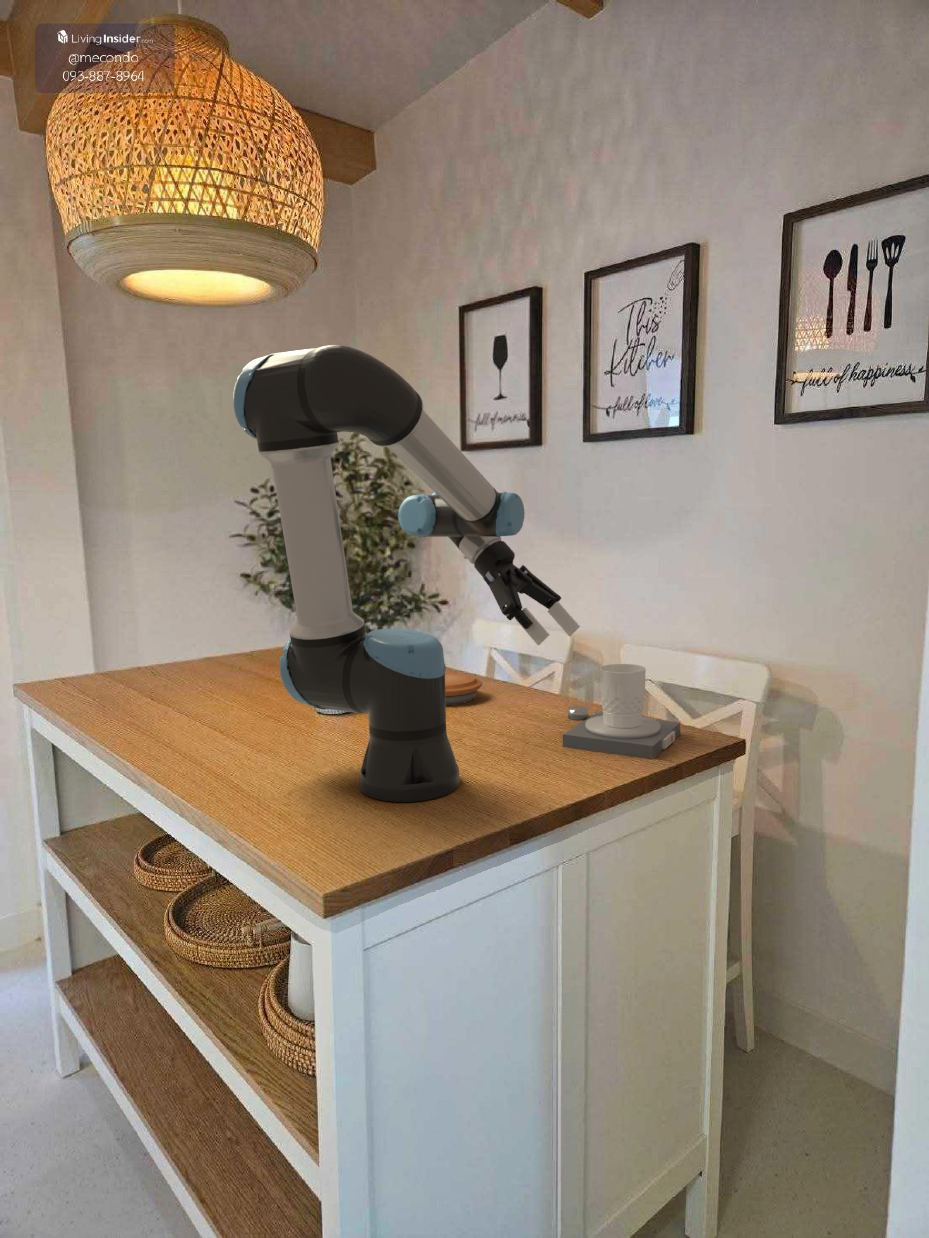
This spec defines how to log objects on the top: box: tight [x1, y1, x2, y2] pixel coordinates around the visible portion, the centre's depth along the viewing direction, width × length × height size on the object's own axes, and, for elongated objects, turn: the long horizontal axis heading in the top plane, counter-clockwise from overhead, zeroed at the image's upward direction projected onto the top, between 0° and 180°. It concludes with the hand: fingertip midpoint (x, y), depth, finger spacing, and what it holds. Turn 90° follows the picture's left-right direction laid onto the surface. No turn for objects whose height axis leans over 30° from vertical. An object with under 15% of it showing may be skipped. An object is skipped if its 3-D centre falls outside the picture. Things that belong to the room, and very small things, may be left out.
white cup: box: [599, 663, 646, 728], centre depth 143 cm, size 8×8×10 cm
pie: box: [445, 672, 483, 706], centre depth 178 cm, size 15×16×5 cm
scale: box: [562, 713, 681, 760], centre depth 144 cm, size 16×17×3 cm
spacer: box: [567, 705, 589, 722], centre depth 160 cm, size 4×4×2 cm
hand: (559, 635), depth 149 cm, fingers open, 13 cm apart
